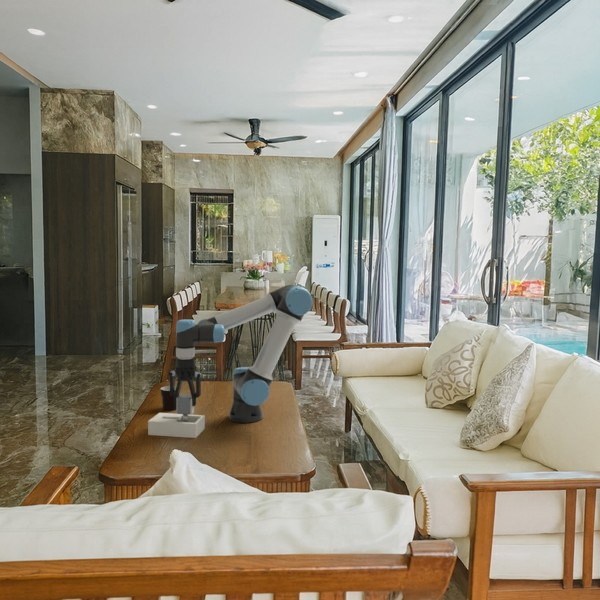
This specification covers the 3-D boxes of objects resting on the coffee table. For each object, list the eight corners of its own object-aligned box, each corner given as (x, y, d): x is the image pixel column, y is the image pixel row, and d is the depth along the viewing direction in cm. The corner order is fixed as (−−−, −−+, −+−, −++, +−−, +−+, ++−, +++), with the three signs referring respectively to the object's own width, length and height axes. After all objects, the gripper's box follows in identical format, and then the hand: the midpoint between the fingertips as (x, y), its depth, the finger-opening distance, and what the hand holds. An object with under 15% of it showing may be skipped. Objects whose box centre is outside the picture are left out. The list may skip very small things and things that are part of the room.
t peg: (196, 426, 233) (196, 394, 232) (190, 432, 226) (190, 398, 225) (179, 425, 234) (180, 393, 232) (174, 431, 227) (174, 397, 226)
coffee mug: (174, 412, 257) (174, 391, 257) (157, 410, 259) (157, 389, 258) (184, 405, 269) (184, 385, 268) (168, 404, 270) (168, 384, 270)
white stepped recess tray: (204, 428, 235) (204, 415, 235) (195, 438, 223) (195, 424, 223) (159, 425, 238) (159, 412, 237) (148, 434, 226) (148, 421, 225)
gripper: (209, 356, 230) (209, 411, 232) (167, 354, 232) (167, 409, 234) (204, 360, 222) (203, 417, 224) (160, 358, 225) (160, 414, 227)
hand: (185, 413), depth 229 cm, fingers closed on t peg, 5 cm apart
